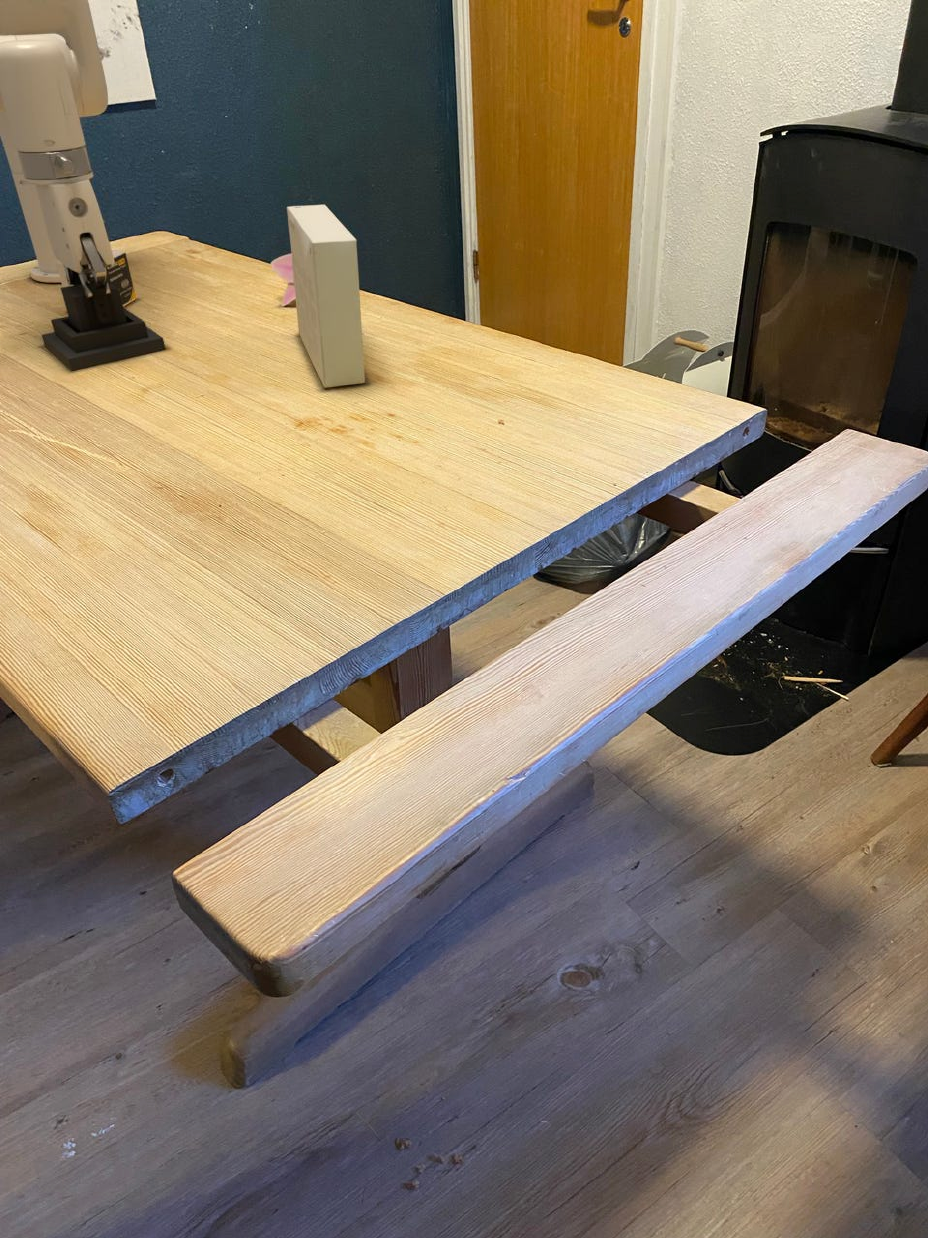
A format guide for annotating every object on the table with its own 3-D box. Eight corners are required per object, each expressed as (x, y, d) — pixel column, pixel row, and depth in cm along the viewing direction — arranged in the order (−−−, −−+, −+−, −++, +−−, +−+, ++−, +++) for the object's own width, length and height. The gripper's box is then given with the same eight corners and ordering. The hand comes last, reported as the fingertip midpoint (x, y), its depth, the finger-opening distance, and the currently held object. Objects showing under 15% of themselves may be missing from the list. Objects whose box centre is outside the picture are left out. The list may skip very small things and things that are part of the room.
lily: (275, 301, 136) (247, 250, 128) (341, 260, 137) (317, 207, 128) (307, 346, 130) (280, 296, 122) (376, 302, 131) (354, 250, 122)
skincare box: (371, 384, 104) (357, 238, 95) (324, 390, 103) (306, 243, 94) (339, 329, 121) (325, 201, 112) (298, 334, 120) (281, 204, 111)
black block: (70, 323, 116) (60, 287, 114) (113, 314, 119) (104, 279, 116) (83, 334, 113) (73, 297, 110) (127, 324, 115) (118, 288, 113)
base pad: (44, 345, 119) (36, 319, 117) (133, 326, 124) (127, 300, 122) (71, 370, 111) (63, 342, 109) (165, 349, 116) (159, 321, 114)
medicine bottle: (113, 313, 130) (90, 224, 123) (68, 312, 131) (43, 223, 124) (137, 299, 135) (117, 213, 128) (94, 297, 137) (72, 212, 130)
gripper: (112, 170, 101) (149, 331, 112) (67, 153, 113) (105, 301, 123) (43, 179, 98) (89, 344, 108) (4, 160, 109) (49, 312, 120)
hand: (97, 320), depth 116 cm, fingers closed on black block, 5 cm apart
